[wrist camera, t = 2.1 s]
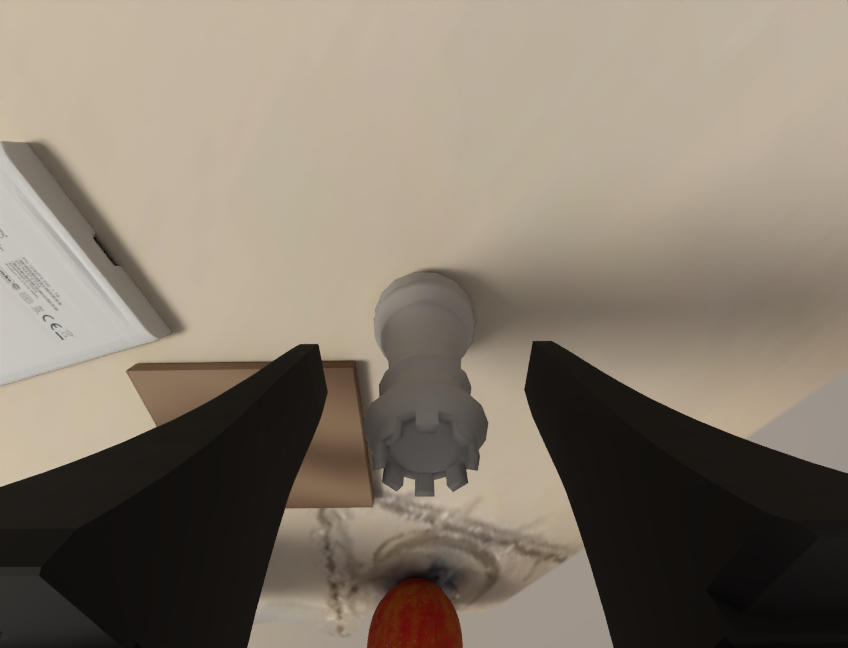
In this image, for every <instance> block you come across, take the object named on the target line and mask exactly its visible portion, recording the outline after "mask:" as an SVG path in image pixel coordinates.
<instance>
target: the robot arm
mask: <svg viewBox="0 0 848 648" xmlns="http://www.w3.org/2000/svg"><path fill="white" fill-rule="evenodd" d="M524 390H525V393H526V397H527V401H528V404H529V407H530V410H531V414H532V417H533V419H534V421H535V423H536V426H537V428H538V430H539V432H540V435H541V437H542V439H543V441H544V443H545V445H546V448H547V450H548V452H549V454H550V456H551V459H552V461H553V463H554V465H555V467H556V469H557V472H558V474H559V476H560V478H561V481H562V483H563V486H564V488H565V490H566V493H567V496H568V499H569V502H570V504H571V507H572V510H573V513H574V516H575V519H576V522H577V525H578V528H579V531H580V534H581V537H582V540H583V543H584V547H585V550H586V553H587V556H588V559H589V562H590V565H591V568H592V572H593V576H594V579H595V582H596V586H597V589H598V592H599V596H600V599H601V603H602V606H603V610H604V613H605V617H606V620H607V624H608V628H609V632H610V636H611V639H612V643H613V647H614V648H848V473H844V472H841V471H837V470H834V469H831V468H827V467H824V466H821V465H818V464H814V463H811V462H808V461H805V460H802V459H799V458H796V457H794V456H791V455H788V454H785V453H782V452H779V451H776V450H773V449H770V448H767V447H764V446H762V445H759V444H756V443H754V442H750V441H748V440H745V439H743V438H740V437H737V436H735V435H732V434H730V433H727V432H725V431H722V430H720V429H717V428H715V427H712V426H710V425H708V424H705V423H703V422H700V421H698V420H696V419H693V418H691V417H689V416H686V415H684V414H682V413H680V412H678V411H675V410H673V409H671V408H669V407H667V406H665V405H663V404H661V403H659V402H656V401H654V400H652V399H650V398H649V397H647V396H645V395H643V394H641V393H639V392H637V391H635V390H633V389H632V388H630V387H628V386H626V385H624V384H623V383H621V382H619V381H617V380H616V379H614V378H612V377H610V376H609V375H607V374H605V373H604V372H602V371H600V370H599V369H597V368H595V367H594V366H592V365H591V364H589V363H587V362H586V361H584V360H583V359H581V358H579V357H578V356H576V355H575V354H573V353H571V352H570V351H568V350H566V349H565V348H563V347H561V346H560V345H558V344H556V343H554V342H552V341H533V344H532V349H531V355H530V361H529V367H528V372H527V378H526V384H525V389H524ZM327 394H328V390H327V385H326V380H325V375H324V370H323V365H322V360H321V355H320V350H319V345H318V344H300V345H298V346H296V347H294V348H293V349H291V350H289V351H288V352H286V353H285V354H283V355H282V356H280V357H279V358H277V359H276V360H274V361H273V362H271V363H270V364H268V365H267V366H265V367H264V368H262V369H261V370H259V371H258V372H256V373H255V374H253V375H251V376H250V377H248V378H247V379H245V380H243V381H242V382H240V383H239V384H237V385H235V386H234V387H232V388H230V389H229V390H227V391H225V392H224V393H222V394H220V395H219V396H217V397H215V398H214V399H212V400H210V401H208V402H206V403H205V404H203V405H201V406H199V407H197V408H195V409H193V410H191V411H189V412H187V413H185V414H183V415H182V416H180V417H178V418H176V419H173V420H171V421H169V422H167V423H165V424H163V425H160V426H158V427H156V428H154V429H152V430H149V431H147V432H145V433H143V434H140V435H138V436H136V437H134V438H131V439H129V440H127V441H125V442H122V443H120V444H118V445H115V446H113V447H110V448H108V449H105V450H103V451H100V452H98V453H95V454H93V455H90V456H87V457H85V458H82V459H79V460H77V461H74V462H71V463H69V464H66V465H63V466H61V467H58V468H55V469H52V470H50V471H47V472H44V473H41V474H38V475H35V476H32V477H29V478H26V479H23V480H20V481H17V482H14V483H11V484H8V485H5V486H2V487H0V648H247V646H248V642H249V638H250V634H251V630H252V625H253V621H254V617H255V613H256V609H257V605H258V602H259V598H260V594H261V590H262V586H263V583H264V579H265V575H266V571H267V567H268V564H269V561H270V557H271V554H272V550H273V547H274V543H275V540H276V536H277V533H278V529H279V526H280V523H281V520H282V517H283V513H284V510H285V507H286V504H287V501H288V497H289V495H290V492H291V489H292V487H293V484H294V481H295V479H296V476H297V474H298V472H299V469H300V467H301V465H302V462H303V460H304V458H305V455H306V453H307V451H308V448H309V446H310V444H311V441H312V439H313V436H314V434H315V432H316V429H317V427H318V424H319V422H320V419H321V416H322V413H323V409H324V406H325V402H326V398H327Z"/></svg>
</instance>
